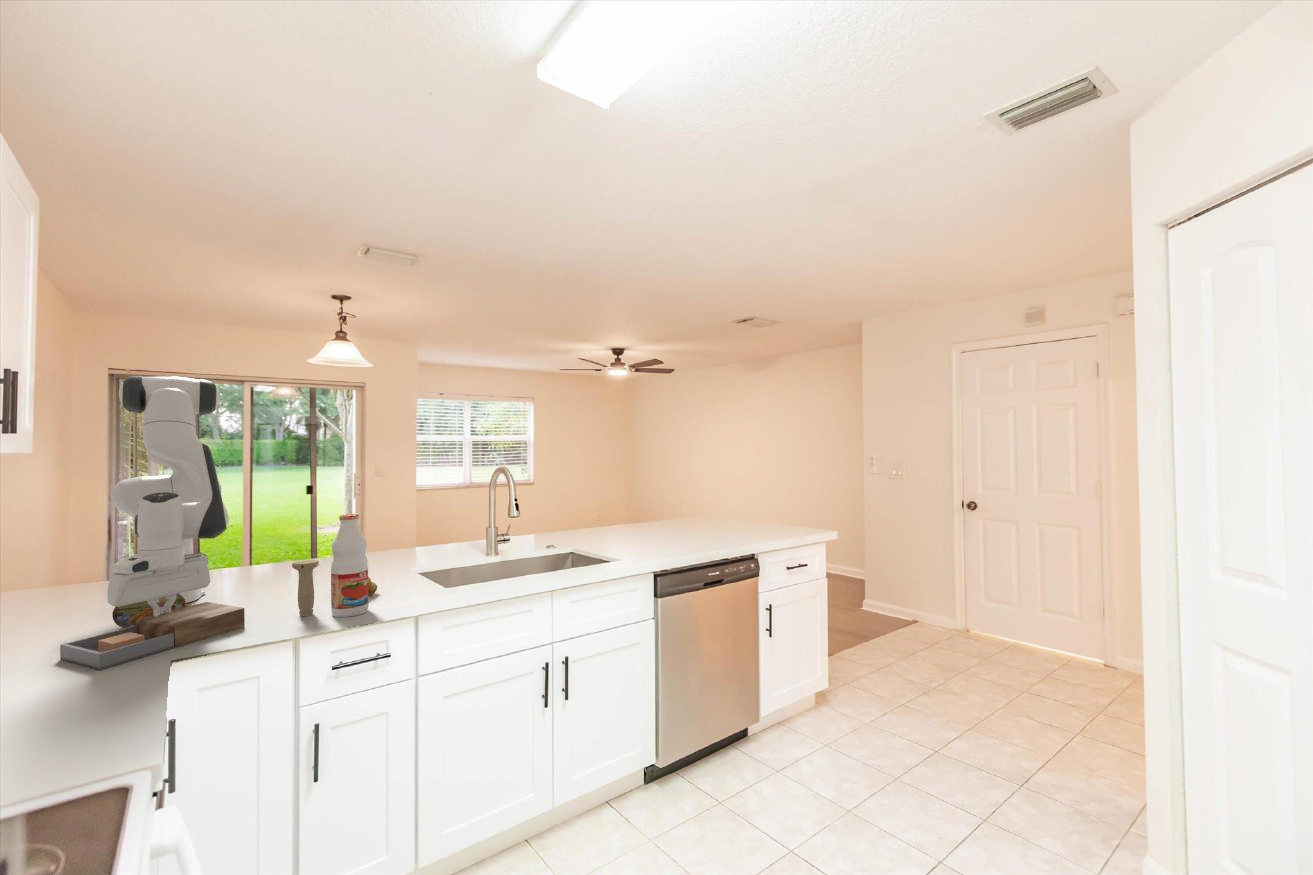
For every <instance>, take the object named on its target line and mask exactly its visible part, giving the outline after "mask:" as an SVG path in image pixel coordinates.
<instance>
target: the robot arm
mask: <svg viewBox="0 0 1313 875" xmlns="http://www.w3.org/2000/svg"><path fill="white" fill-rule="evenodd" d="M220 397H221V396H220V392H219V390H218V387H217V385H216V384H215V383H214V382H213V381H210V380H207V379H202V378H200V379H196V378H190V377H182V376H143V375H133V376H128V377H127V378H125V379H124V380H123V381H122V383H121V385H120V387H119V390H118V399H119V401H120V404H121V405H122V408H124V409H125V410H126V411H128V412H131V413H135V414H138V415H139V414H142V413H143V421H142V443H143V445H144V447H145V453H146V456H147V458H148V459H149V460H150V461H152V462H153V463H155V464H158V465H159V466H163V467H166V468H169V469H171V470H172V473H171V474H168V475H166V474H165V475H148V476H147V475H145V476H135V477H130V478H126V479H121V480H120V481H118V482H117V483H116V485H115V486H114V487H113V488H112V491H111V496H110V497H111V501H112V504H113V506H114V507H115V508H116V510H118V511H120V512H122V513H123V514H125V515H128V516H129V517H131V518H132V519H133V520H134V535H135V536H136V537H138V538H139V542H138V546H137V553H136V554H133V555H131V556H129V557H127V558H124V559H121V560H119V561H116V562H115V563H113V564H112V565H111V571H112V572H113V573H114V574H113V575H111V577H110V579H109V580H108V583H107V584H108V586H107V595H106V596H107V597H106V600H107V603H108V605H110V606H112V607H115V606H116V607H121V606H125V605H130V604H134V603H139V602H143V601H148V604H149V605H150V606H151V607H152V609H153V615H154V616H161V615H165V614H169V613H171V606H172V605H173V603H174V601H175V600H176V594H180V595H181V596H183V597H184V599H185V601H186V604H188V603H191V602H194V601H197V600H198V599H200V598H201V597H202V596H205V594H206V590H205V588H208V587H209V586H210V583H211V576H210V570H209V556H208V555H207V554H206V553H203V552H194V539H197V540H198V539H199V540H200V539H201V540H206V539H207V540H208V539H210V540H211V539H216V538H217V537H219V536H220V535H222V534H223V533H224V532H225V531H226V530H227V529H228V526H229V519H230V518H229V514H228V510H227V508H226V505H225V503H224V501H223V497H222V485H221V483H220V481H219V478H218V474H217V473H218V472H217V470H216V469H217V468H216V464H215V462H214V458H213V457H214V456H213V453H212V451H211V449H210V447H209V446H208V445H206V444H205V443H202V441H200V439H199V437H198V436H197V430H196V428H197V426H196V425H197V422H196V415H198V417H202V416H205V415H210V414H212V413H213V412H215V411H216V410H217V407H218V406H219V404H220V400H221V399H220ZM203 589H204V590H203ZM161 597H165V599H167V601H166V603H165V605H164V606H163V607H159V606H158V605H157V603H158V602H159V598H161Z"/></svg>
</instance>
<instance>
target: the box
mask: <svg viewBox="0 0 1313 875" xmlns="http://www.w3.org/2000/svg"><path fill="white" fill-rule="evenodd" d="M129 632H131V633H136V634H137V626H131V627H128V628H121V629H117V630H112V631H109V632H104V633H101V634H97V635H93V636H89V637H86V638H81V639H77V640H73V641H70V642H67V643H66V642H65V643H61V644H59V653H60V654H59V655H60V656H59V657H60V659H59V660H60V661H62V662H67V663H71V664H74V665H77V666H82V667H84V668H85V667H86V668H89V669H92V670H97V671H103V670H106V669H109V668H112V667H115V666H119V665H122V664H125V663H128V662H132V661H135V660H139V659H142V658H145V657H148V656H151V655H156V654H159V653H162V652H166V651H168V650H172V649H174V648H175V647H174V633H170V634H167V635H163V636H159V637H156V638H152V639H149V640H146V639H144V641H141V642H138V643H134V644H131V645H127V646H124V647H120V648H116V649H113V650H109V651H106V652H98V640H102V639H106V638H110V637H113V636H117V635H121V634H125V633H129Z"/></svg>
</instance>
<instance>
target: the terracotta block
mask: <svg viewBox="0 0 1313 875" xmlns="http://www.w3.org/2000/svg"><path fill="white" fill-rule="evenodd" d="M141 641H144V635H141V634H136V633H131V632H129V633H125V634H121V635H117V636H113V637H110V638H106V639H102V640H98V652H106V651H109V650H113V649H116V648H120V647H124V646H127V645H131V644H134V643H138V642H141Z"/></svg>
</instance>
